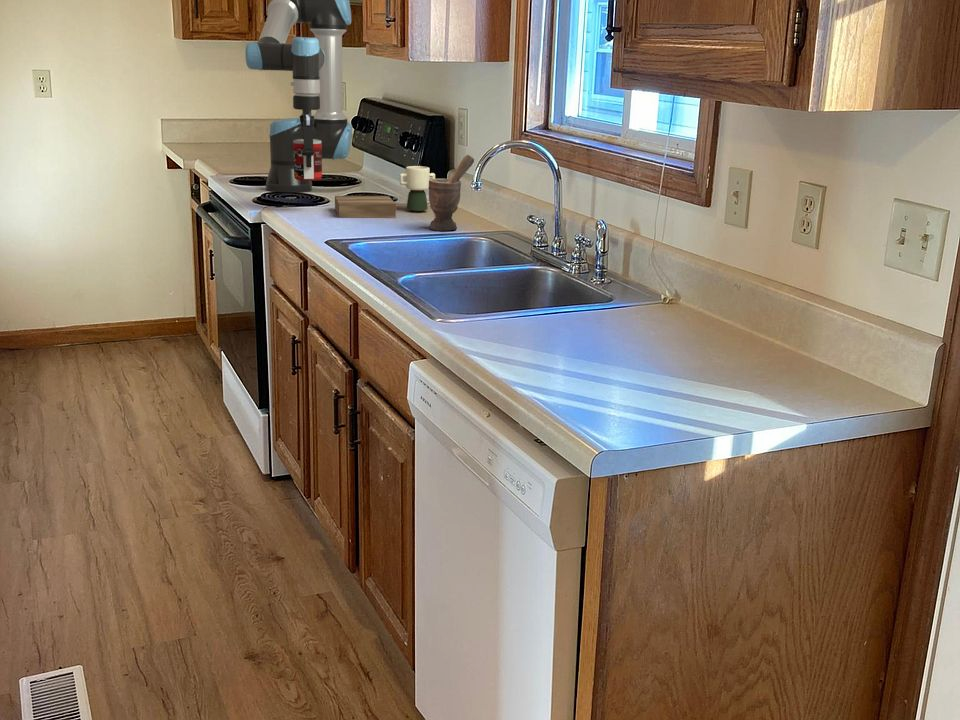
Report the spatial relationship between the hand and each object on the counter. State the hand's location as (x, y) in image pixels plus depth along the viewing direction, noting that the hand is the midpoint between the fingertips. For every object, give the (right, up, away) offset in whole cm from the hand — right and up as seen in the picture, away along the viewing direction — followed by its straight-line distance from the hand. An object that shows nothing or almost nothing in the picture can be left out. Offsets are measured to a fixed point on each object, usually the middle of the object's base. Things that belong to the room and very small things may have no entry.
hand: (308, 176), depth 289 cm
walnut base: (+16, -10, +3) cm, 19 cm away
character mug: (+31, -9, +10) cm, 34 cm away
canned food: (0, -1, 0) cm, 1 cm away
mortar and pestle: (+41, -18, -18) cm, 48 cm away
